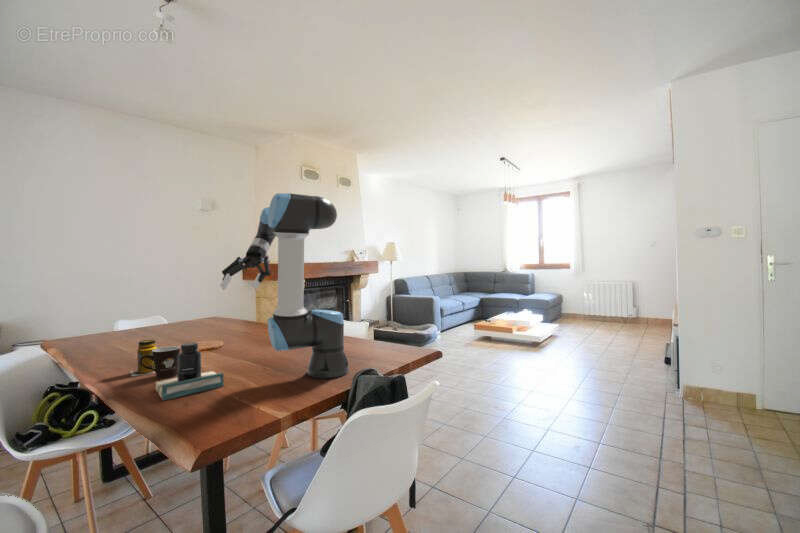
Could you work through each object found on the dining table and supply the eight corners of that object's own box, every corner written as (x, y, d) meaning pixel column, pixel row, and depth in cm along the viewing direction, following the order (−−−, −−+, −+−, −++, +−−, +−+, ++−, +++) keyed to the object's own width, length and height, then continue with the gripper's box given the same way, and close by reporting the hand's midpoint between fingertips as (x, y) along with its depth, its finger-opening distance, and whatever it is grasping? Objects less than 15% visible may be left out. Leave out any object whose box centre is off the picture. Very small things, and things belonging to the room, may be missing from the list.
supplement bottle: (184, 384, 111) (183, 347, 111) (173, 381, 114) (172, 345, 114) (205, 378, 117) (205, 343, 117) (194, 375, 120) (194, 340, 120)
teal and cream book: (223, 386, 116) (223, 373, 116) (163, 400, 104) (162, 386, 104) (212, 377, 126) (212, 365, 126) (155, 389, 114) (155, 376, 114)
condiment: (159, 371, 134) (159, 340, 133) (132, 377, 128) (131, 344, 128) (156, 368, 139) (155, 338, 139) (129, 372, 133) (128, 341, 133)
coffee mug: (183, 371, 134) (183, 345, 134) (177, 378, 126) (176, 350, 126) (148, 374, 130) (147, 348, 130) (138, 381, 122) (138, 353, 122)
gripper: (287, 256, 153) (271, 293, 138) (235, 257, 156) (213, 293, 141) (282, 244, 148) (264, 281, 133) (227, 245, 151) (204, 281, 136)
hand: (238, 287), depth 137 cm, fingers open, 13 cm apart
